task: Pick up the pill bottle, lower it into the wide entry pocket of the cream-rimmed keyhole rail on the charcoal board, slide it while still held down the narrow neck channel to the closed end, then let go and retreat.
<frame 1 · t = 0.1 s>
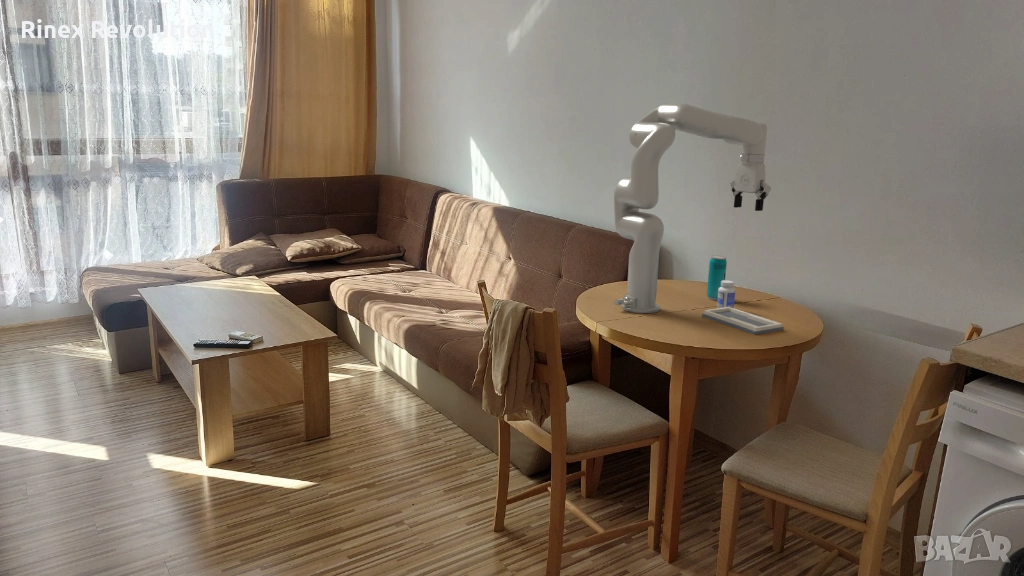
hand: (747, 208, 260), 31 cm above the table, fingers open, 9 cm apart
beverage can: (714, 299, 262), on the table
pill bottle: (725, 310, 247), on the table
keyhole board: (741, 323, 232), on the table
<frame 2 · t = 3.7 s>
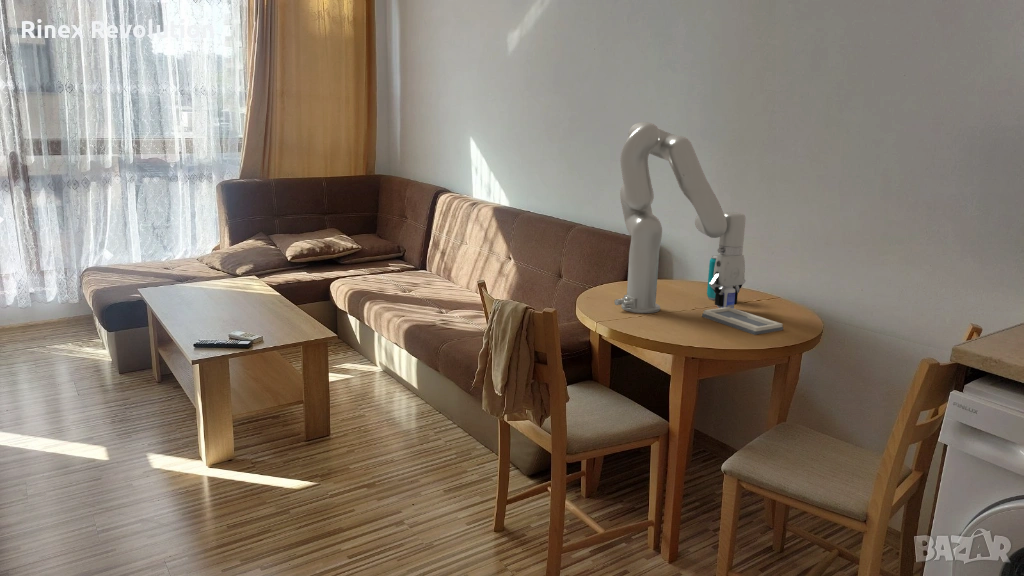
hand: (725, 304, 247), 2 cm above the table, fingers closed on pill bottle, 5 cm apart
pill bottle: (725, 310, 247), on the table, touching gripper
everything else where it was.
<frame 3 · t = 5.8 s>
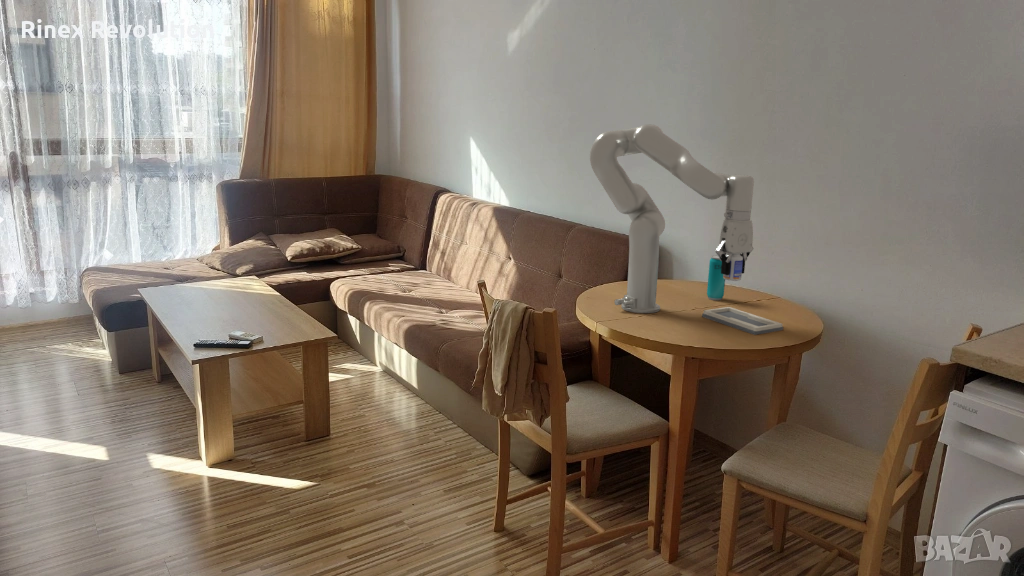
hand: (732, 272, 233), 15 cm above the table, fingers closed on pill bottle, 5 cm apart
pill bottle: (731, 279, 234), point 13 cm above the table, touching gripper
everything else where it was.
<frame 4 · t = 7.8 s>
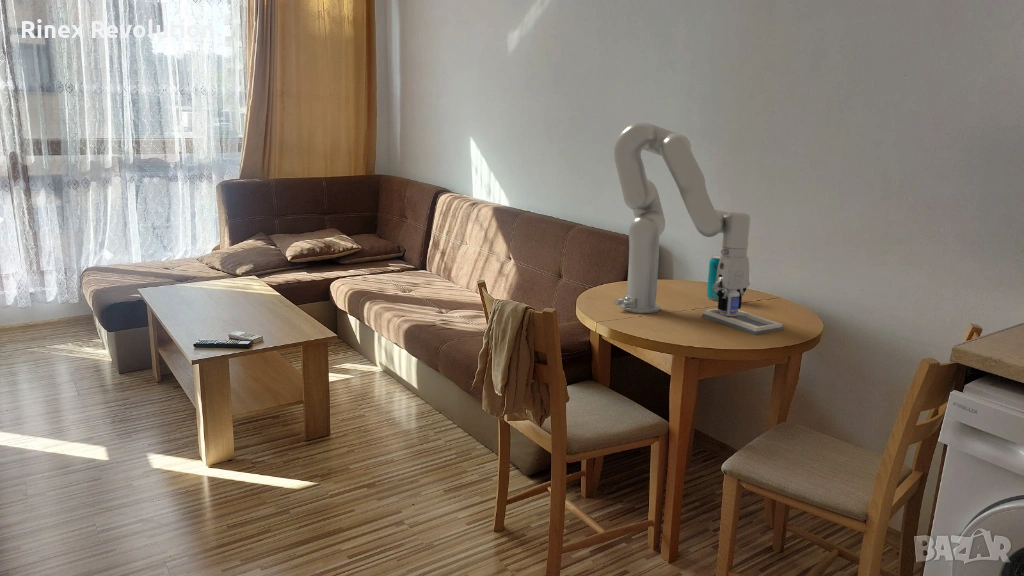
hand: (729, 308, 236), 3 cm above the table, fingers closed on pill bottle, 5 cm apart
pill bottle: (728, 315, 236), point 1 cm above the table, touching gripper
everything else where it was.
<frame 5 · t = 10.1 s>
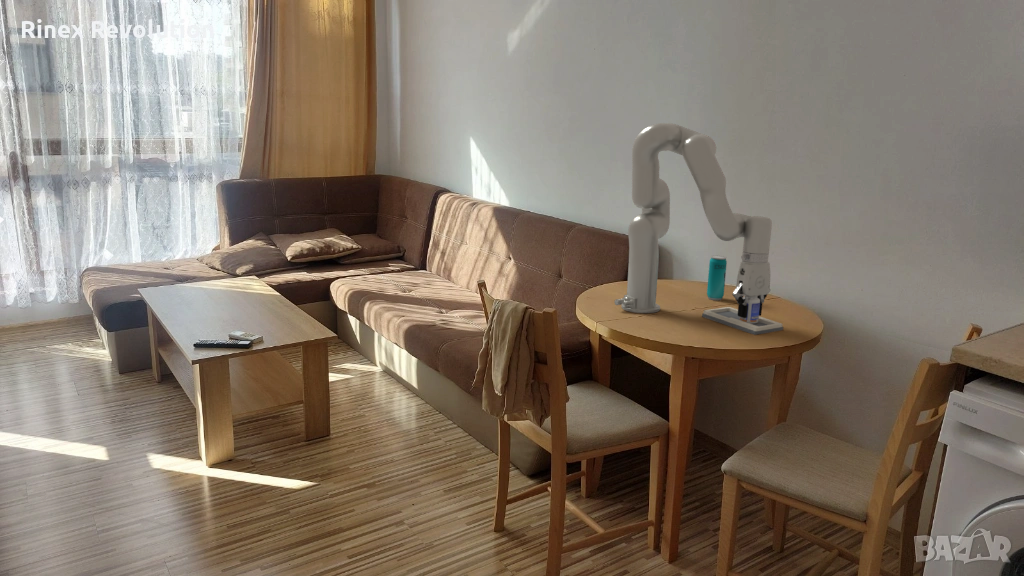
hand: (749, 315, 229), 3 cm above the table, fingers closed on pill bottle, 5 cm apart
pill bottle: (748, 322, 229), point 1 cm above the table, touching gripper
everything else where it was.
when the fingers open (3 cm above the table, at t = 12.3 s): pill bottle stays where it is, resting on keyhole board.
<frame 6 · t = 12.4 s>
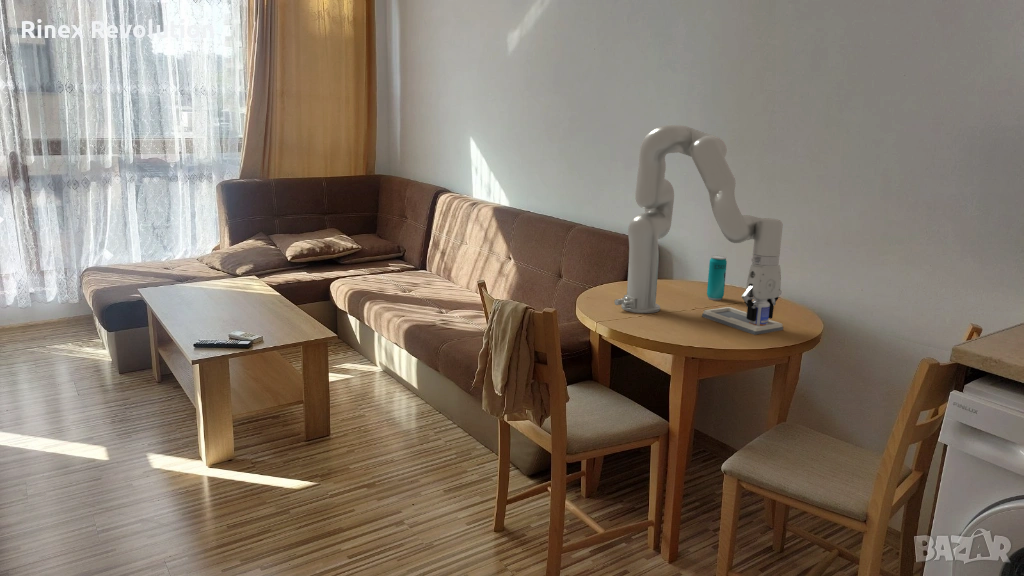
hand: (759, 318, 225), 3 cm above the table, fingers open, 6 cm apart
pill bottle: (758, 326, 226), point 1 cm above the table, touching keyhole board
everything else where it was.
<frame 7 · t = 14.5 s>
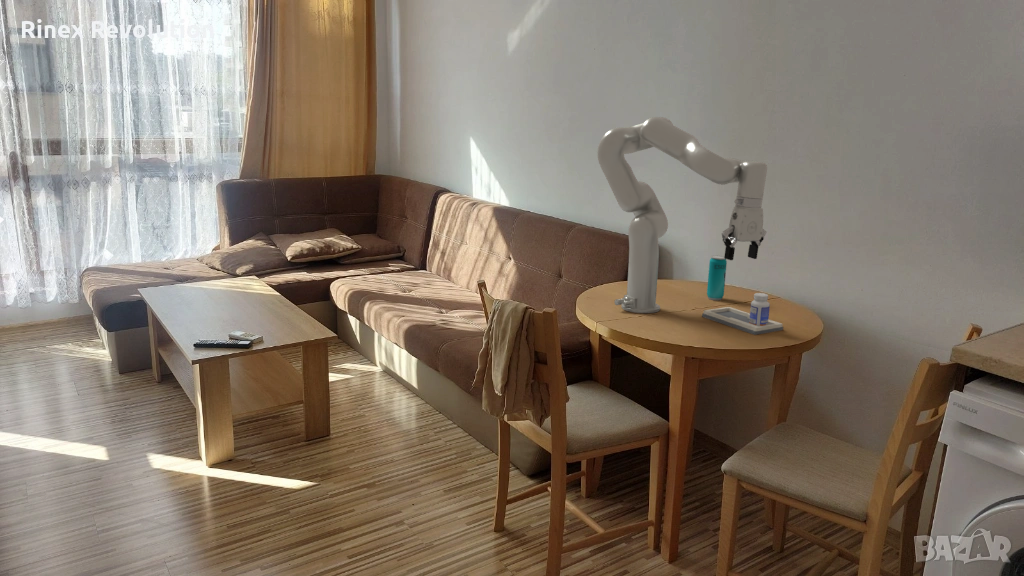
hand: (740, 258, 228), 20 cm above the table, fingers open, 9 cm apart
nothing on the table moved.
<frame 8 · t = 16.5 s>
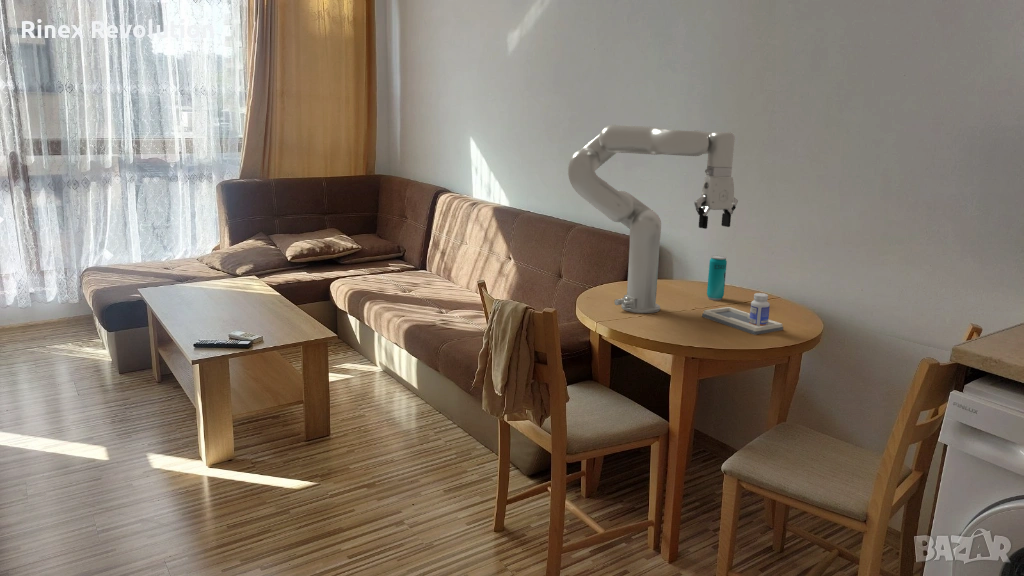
hand: (714, 227, 235), 28 cm above the table, fingers open, 9 cm apart
nothing on the table moved.
at the end: pill bottle 0.3 cm from the target spot on the keyhole board, point 0.8 cm above the keyhole board's base; pill bottle tilted 0°; the gripper is holding nothing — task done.
